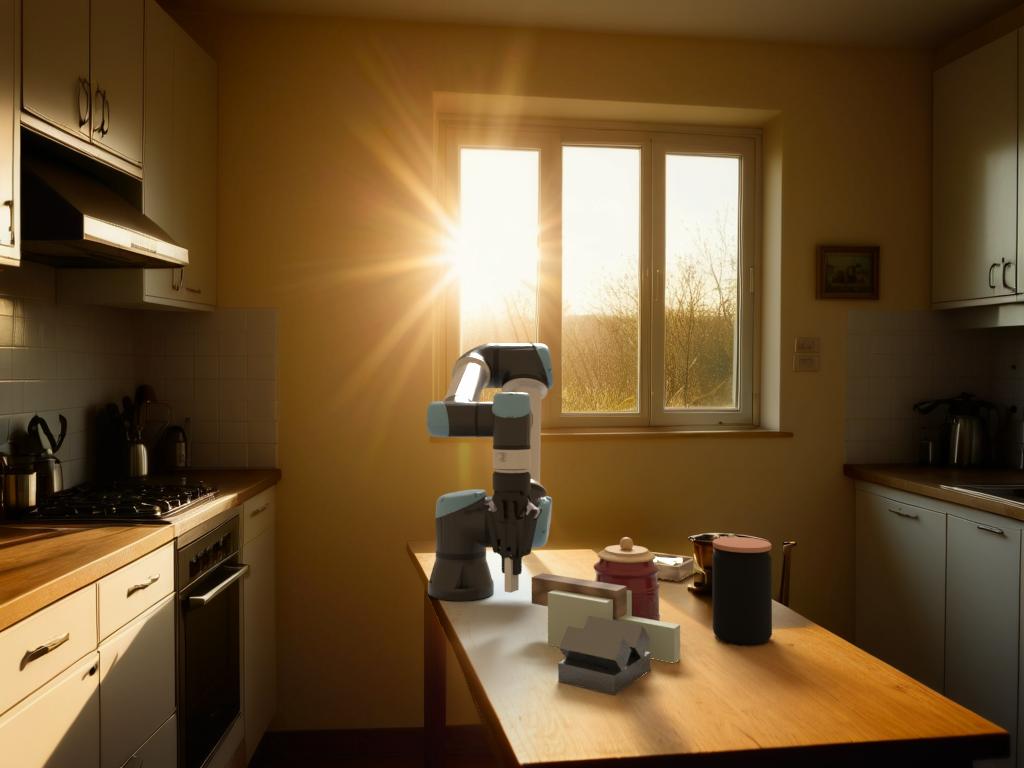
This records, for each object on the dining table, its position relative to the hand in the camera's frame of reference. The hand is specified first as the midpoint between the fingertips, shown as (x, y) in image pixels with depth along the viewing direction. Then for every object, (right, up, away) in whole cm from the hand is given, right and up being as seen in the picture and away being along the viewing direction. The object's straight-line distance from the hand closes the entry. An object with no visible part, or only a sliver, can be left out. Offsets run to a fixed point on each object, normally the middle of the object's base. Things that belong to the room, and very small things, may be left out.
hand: (511, 590), depth 153 cm
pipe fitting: (+40, -8, +47) cm, 62 cm away
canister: (+23, -7, 0) cm, 24 cm away
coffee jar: (+43, -7, -7) cm, 44 cm away
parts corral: (+39, -8, +46) cm, 61 cm away
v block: (+15, -7, -26) cm, 31 cm away
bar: (+12, -1, -8) cm, 15 cm away
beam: (+19, -7, -13) cm, 24 cm away
